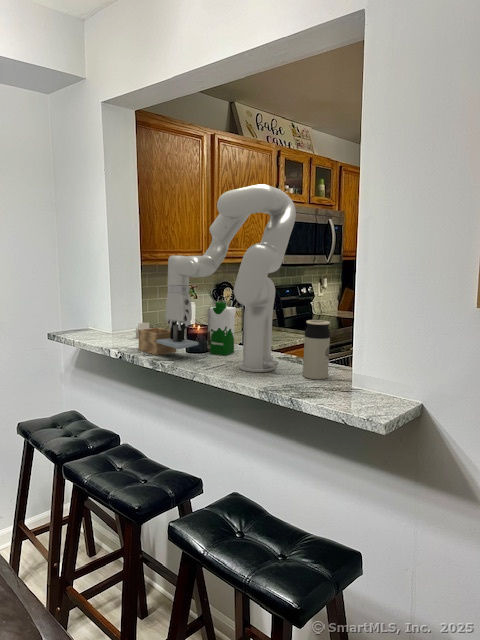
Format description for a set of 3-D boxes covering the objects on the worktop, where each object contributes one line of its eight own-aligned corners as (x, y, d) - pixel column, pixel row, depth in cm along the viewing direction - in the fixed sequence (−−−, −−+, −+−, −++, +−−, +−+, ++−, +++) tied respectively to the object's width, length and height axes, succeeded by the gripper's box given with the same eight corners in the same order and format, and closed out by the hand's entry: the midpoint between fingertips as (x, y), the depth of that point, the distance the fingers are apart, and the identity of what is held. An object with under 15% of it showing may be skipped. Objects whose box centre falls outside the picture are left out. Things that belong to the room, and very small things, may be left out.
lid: (198, 347, 173) (198, 326, 172) (178, 350, 166) (178, 328, 165) (176, 341, 182) (177, 321, 181) (156, 344, 175) (156, 323, 174)
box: (175, 351, 184) (176, 331, 183) (157, 355, 177) (157, 334, 176) (157, 347, 192) (157, 327, 191) (138, 350, 186) (138, 329, 184)
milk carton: (206, 353, 182) (207, 302, 179) (217, 349, 190) (218, 300, 187) (227, 356, 178) (228, 303, 175) (237, 352, 186) (238, 301, 183)
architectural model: (134, 339, 211) (134, 322, 210) (147, 337, 216) (147, 321, 215) (138, 340, 208) (138, 323, 207) (151, 338, 213) (151, 322, 212)
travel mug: (298, 376, 152) (300, 321, 149) (311, 372, 158) (313, 319, 155) (319, 381, 146) (322, 324, 144) (332, 376, 152) (335, 321, 150)
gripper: (201, 291, 168) (200, 342, 171) (172, 287, 179) (171, 335, 182) (184, 292, 163) (183, 344, 165) (156, 288, 174) (155, 337, 176)
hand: (177, 339), depth 174 cm, fingers closed on lid, 3 cm apart
